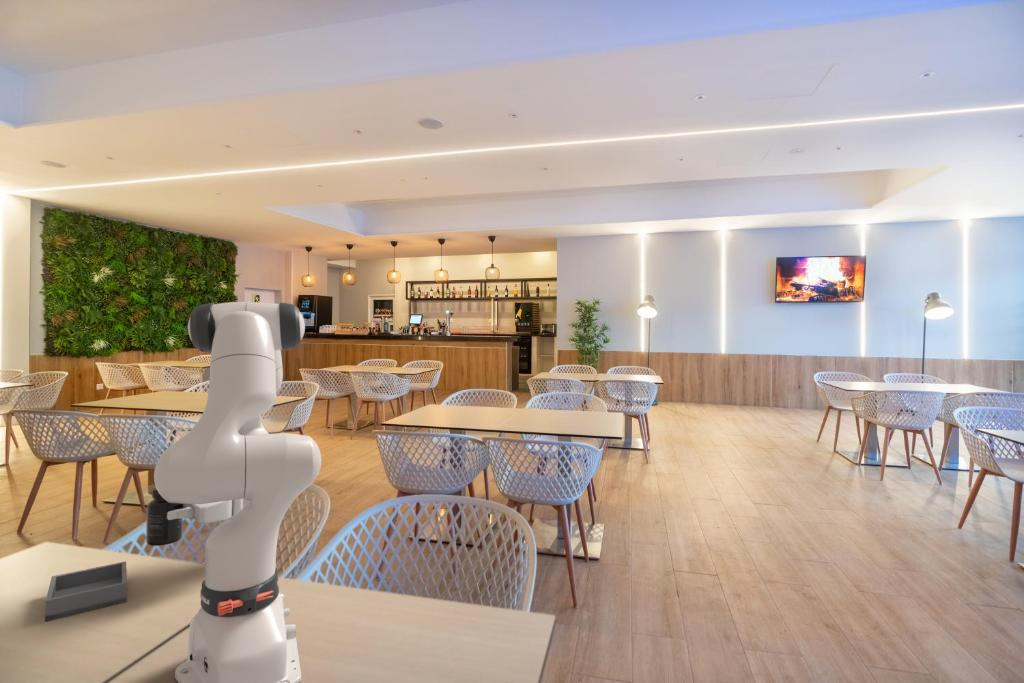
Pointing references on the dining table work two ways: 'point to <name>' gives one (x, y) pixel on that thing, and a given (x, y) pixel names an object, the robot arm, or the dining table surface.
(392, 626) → the dining table surface
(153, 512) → the supplement bottle
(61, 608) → the tray
